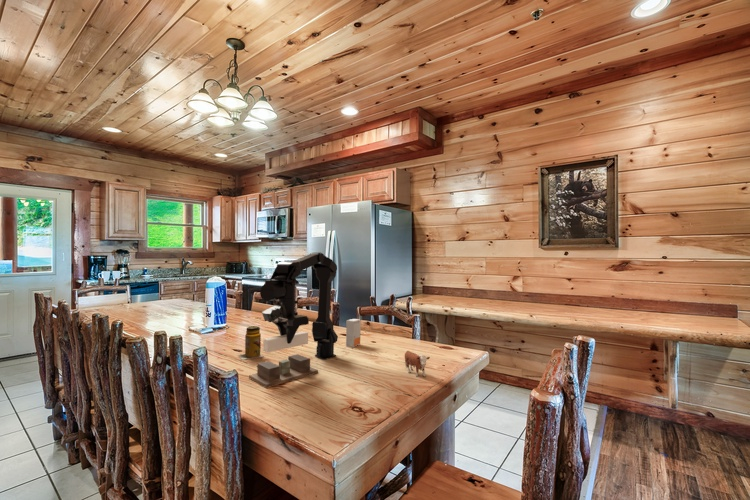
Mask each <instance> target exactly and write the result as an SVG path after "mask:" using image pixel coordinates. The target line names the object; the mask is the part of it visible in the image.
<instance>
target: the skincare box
mask: <svg viewBox="0 0 750 500" xmlns="http://www.w3.org/2000/svg"><path fill="white" fill-rule="evenodd" d="M345 322H346V324H345V325H346V328H345V329H346V332H345V336H346V337H345V346H346V347H350V348H355V347H357V345H358V346H360V345H361V327H362V326H361V324H362V323H361V322H362V320H361V319H359V318H352V319H351V318H350V319H347V320H346V321H345Z"/></svg>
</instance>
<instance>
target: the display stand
mask: <svg viewBox="0 0 750 500" xmlns="http://www.w3.org/2000/svg"><path fill="white" fill-rule="evenodd" d="M318 373H319V370H318V369H316V368H314V367H311V358H309V357H306V356H303V355H301V354H298V353H297V354H292V355H289V356H288V358H287V359H283V360H278V364H276V363H273V362H271V361H268V360H265V361H262V362H258V363H257V373H252V374H249V375H248V379H250V380H252V381H254V382H255V383H256V384H258V385H260V386H262V387H264V388H265V389H266V388H267V389H268V388H271V387H274V386H276V385H277V386H278V385H280V384H284V383H287V382H291V381H294V380H299V379H301V378H305V377H309V376H312V375H314V374H318Z"/></svg>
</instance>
